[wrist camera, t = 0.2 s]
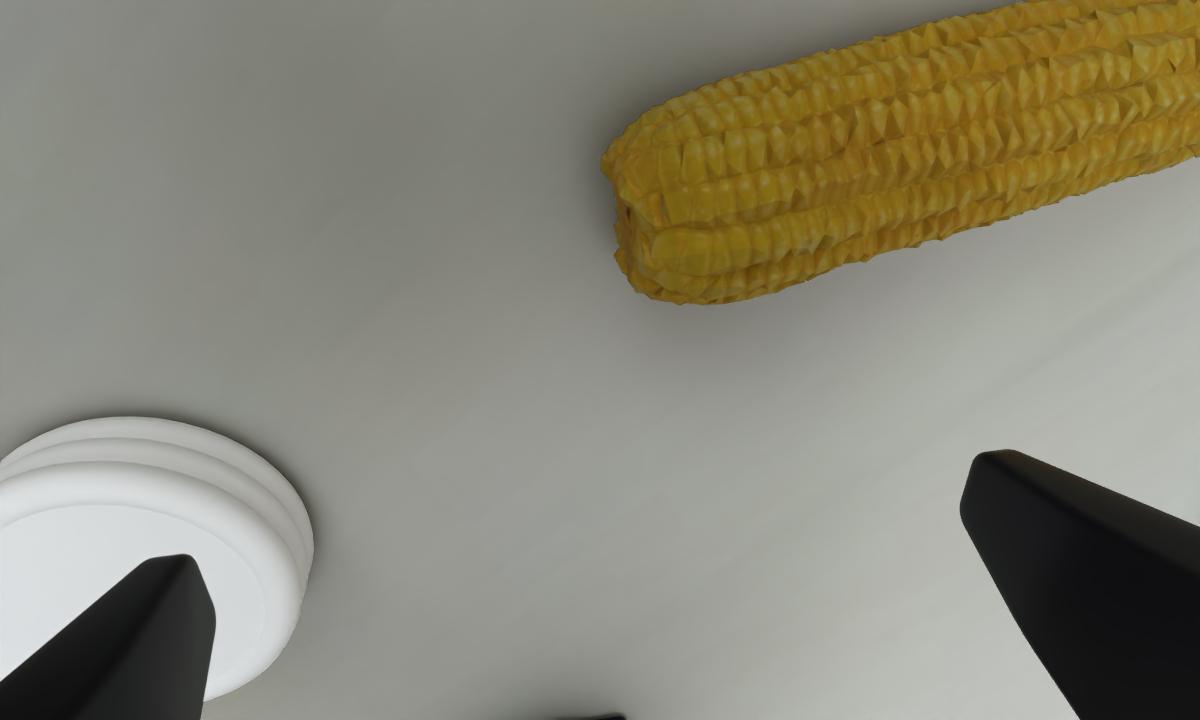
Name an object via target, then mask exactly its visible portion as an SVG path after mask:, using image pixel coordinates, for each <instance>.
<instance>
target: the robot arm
mask: <svg viewBox="0 0 1200 720" xmlns="http://www.w3.org/2000/svg"><path fill="white" fill-rule="evenodd" d="M960 515H961V519H962V522H963V525H964V527H965V529H966V531H967V532H968V534H969V536H970V538H971V540H972V542H973V543H974V545H975V547H976V549H977V551H978V553H979V555H980V556H981V558H982V560H983V562H984V564H985V566H986V568H987V569H988V571H989V573H990V575H991V577H992V579H993V580H994V582H995V584H996V586H997V588H998V590H999V592H1000V593H1001V595H1002V597H1003V599H1004V601H1005V603H1006V604H1007V606H1008V608H1009V610H1010V612H1011V614H1012V616H1013V617H1014V619H1015V621H1016V622H1017V624H1018V626H1019V628H1020V629H1021V631H1022V633H1023V635H1024V636H1025V638H1026V639H1027V641H1028V642H1029V644H1030V646H1031V647H1032V649H1033V650H1034V652H1035V653H1036V655H1037V656H1038V658H1039V659H1040V661H1041V662H1042V664H1043V665H1044V667H1045V668H1046V670H1047V671H1048V673H1049V674H1050V676H1051V677H1052V679H1053V680H1054V682H1055V683H1056V685H1057V686H1058V688H1059V689H1060V691H1061V692H1062V694H1063V695H1064V697H1065V698H1066V700H1067V701H1068V703H1069V704H1070V706H1071V707H1072V708H1073V710H1074V711H1075V713H1076V714H1077V716H1078V717H1079V719H1080V720H1200V527H1199V526H1196V525H1194V524H1191V523H1189V522H1187V521H1184V520H1182V519H1179V518H1177V517H1175V516H1172V515H1170V514H1167V513H1165V512H1163V511H1160V510H1158V509H1155V508H1153V507H1151V506H1148V505H1146V504H1143V503H1141V502H1139V501H1136V500H1134V499H1131V498H1129V497H1127V496H1124V495H1122V494H1119V493H1117V492H1115V491H1112V490H1110V489H1107V488H1105V487H1103V486H1100V485H1098V484H1095V483H1093V482H1091V481H1088V480H1086V479H1083V478H1081V477H1079V476H1076V475H1074V474H1071V473H1069V472H1067V471H1064V470H1062V469H1059V468H1057V467H1055V466H1052V465H1050V464H1047V463H1045V462H1043V461H1040V460H1038V459H1035V458H1033V457H1031V456H1028V455H1026V454H1023V453H1021V452H1018V451H1016V450H1011V449H1004V450H996V451H988V452H983V453H980V454H978V455H977V456H976V457H975V459H974V460H973V462H972V465H971V468H970V471H969V475H968V478H967V481H966V485H965V488H964V491H963V495H962V498H961V502H960ZM215 631H216V613H215V608H214V605H213V602H212V599H211V597H210V594H209V592H208V589H207V587H206V584H205V582H204V579H203V577H202V574H201V572H200V569H199V567H198V564H197V562H196V561H195V559H194V558H193V557H192V556H191V555H188V554H176V555H168V556H160V557H153V558H150V559H147V560H145V561H143V562H142V563H141V564H139V565H138V566H137V567H136V568H135V569H133V570H132V571H131V572H130V573H129V574H127V575H126V576H125V577H124V578H123V579H121V580H120V581H119V582H118V583H117V584H116V585H114V586H113V587H112V588H111V589H110V590H108V591H107V592H106V593H105V594H104V595H102V596H101V597H100V598H99V599H98V600H96V601H95V602H94V603H93V604H92V605H91V606H89V607H88V608H87V609H86V610H85V611H83V612H82V613H81V614H80V615H79V616H77V617H76V618H75V619H74V620H73V621H72V622H70V623H69V624H68V625H67V626H66V627H64V628H63V629H62V630H61V631H60V632H58V633H57V634H56V635H55V636H54V637H53V638H51V639H50V640H49V641H48V642H47V643H45V644H44V645H43V646H42V647H41V648H39V649H38V650H37V651H36V652H35V653H33V654H32V655H31V656H30V657H29V658H28V659H26V660H25V661H24V662H23V663H22V664H20V665H19V666H18V667H17V668H16V669H14V670H13V671H12V672H11V673H10V674H9V675H7V676H6V677H5V678H4V679H3V680H1V681H0V720H200V718H201V712H202V706H203V701H204V695H205V689H206V683H207V677H208V672H209V666H210V660H211V654H212V649H213V643H214V637H215ZM599 720H627V719H626V718H624V717H621V716H617V717H611V718H605V719H599Z"/></svg>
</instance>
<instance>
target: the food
mask: <svg viewBox="0 0 1200 720" xmlns="http://www.w3.org/2000/svg"><path fill="white" fill-rule="evenodd" d="M1193 156H1195V157H1200V0H1030V1H1025V2H1021V3H1014V4H1013V5H1009V6H1004V7H999V8H995V9H992V10H988V11H984V12H981V13H977V14H975V13H970V14H968V15H966V16H964V17H959V16H954V17H952V18H951V19H948V18H947V17H946V18H943V19H941V20H938V21H936V22H934V23H932V22H926V23H923V24H921V25H919V26H916V27H914V28H912V29H908V30H905V31H901V32H897V33H894V34H891V35H888V36H874V38H873V39H872V41H869V40H866V41H858V42H856V43H855V44H853V45H850V46H848V47H845V48H842V49H840V50H835V49H833V48H830V49H829V50H828V51H827V52H826V53H824V52H822V51H821V52H818V53H815V54H813V55H810V56H807V57H803V58H799V59H796V60H793V61H790V62H787V63H785V64H782V65H780V66H777V67H775V66H774V67H770V68H766V69H762V70H758V71H756V70H752V71H748V72H747V73H746V74H745V75H743V74H742V73H739V74H736V75H734V76H732V77H730V78H722V79H720V80H718V81H717V82H715V83H713V84H705V85H704V86H702V87H700V88H699V89H697V90H696V91H688V92H687V93H685V94H684V95H682V96H679V97H675V98H672V99H668V100H667V101H666V102H665V104H664V105H659V106H653V107H651V109H650V111H648V112H645V113H643V114H642V115H641V116H640V117H639V119H638V120H637V121H636V122H634V123H633V124H631V125H629V126H627V128H626V129H625V132H624V134H623V136H621V137H618V138H615V139H614V140H613V142H612V144H611V145H610V147H609V149H608V150H606V154H603V155H602V156H601V167H600V170H601V171H602V173H603V174H604V175H605V176H606V178H607V179H608V180H609V181H610V183H611V184H612V186H613V193H614V196H615V198H616V204H617V206H616V208H615V210H616V211H617V213H618V218H619V220H618V221H617V222H616V223H615V225H614V227H615V232H616V237H617V242H618V244H619V245H620V247H619V248H618V250H617V251H616V253H615V254H614V257H615V259H616V261H617V263H618V265H619V267H620V269H621V271H622V273H624V274H626V275H628V281H629V283H630V284H631V285H632V287H633V288H634V290H635V292H637V293H644V294H646V295H647V296H648V297H649V298H650V299H653V300H660V301H666V302H672V303H675V304H677V305H682V304H685V303H691V304H698V305H711V304H726V303H731V302H737V301H742V300H747V299H751V298H755V297H758V296H762V295H765V294H771V293H777V292H779V291H781V290H783V289H785V288H787V287H789V286H791V285H795V284H799V283H803V282H805V280H807V281H809V280H811V279H813V278H815V277H816V276H818V275H820V274H824V273H826V272H828V271H830V270H832V269H834V268H836V267H839V266H842V264H845V263H854V262H858V261H861V262H867V261H868V260H869V259H871V258H872V257H873V256H875V255H878V254H882V253H885V252H889V251H892V250H898V249H901V248H916V247H919V246H920V244H921V243H922V242H925V241H930V240H935V239H937V240H941V241H942V240H944V239H946V238H947V237H949V236H951V235H952V234H955V233H958V232H961V231H965V230H969V229H972V228H976V227H982V226H989V225H991V224H993V223H994V222H996V221H1000V220H1007V219H1010V218H1011V217H1012V216H1016V215H1018V214H1023V213H1024V212H1025V211H1028V210H1036V209H1038V208H1040V207H1042V206H1046V205H1050V204H1054V203H1059V201H1060V200H1062V199H1064V198H1066V197H1068V196H1079V195H1080V194H1086V193H1088V192H1090V191H1092V190H1094V189H1096V188H1098V187H1101V186H1105V185H1107V184H1109V183H1110V182H1118V181H1121V180H1124V179H1125V178H1127V177H1135V176H1139V175H1143V174H1150V173H1155V172H1157V171H1160V170H1162V169H1165V168H1167V167H1173V166H1175V165H1177V164H1179V163H1181V162H1183V161H1185V160H1187V159H1189V158H1191V157H1193Z"/></svg>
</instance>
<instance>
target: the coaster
mask: <svg viewBox="0 0 1200 720" xmlns="http://www.w3.org/2000/svg"><path fill="white" fill-rule="evenodd" d="M176 554H188V555H191V556H192V557H193V558H194V559H195V561H196V562H197V564H198V567H199V569H200V572H201V574H202V577H203V579H204V582H205V584H206V587H207V589H208V592H209V594H210V597H211V599H212V602H213V605H214V608H215V613H216V631H215V637H214V643H213V649H212V654H211V660H210V666H209V672H208V677H207V683H206V689H205V695H204V701H203V702H205V701H208V700H211V699H214V698H217V697H219V696H222V695H225V694H227V693H229V692H231V691H233V690H235V689H237V688H239V687H241V686H243V685H245V684H246V683H248V682H249V681H251V680H253V679H254V678H256V677H257V676H258V675H260V674H261V673H262V672H263V671H264V670H266V669H267V668H268V667H269V666H270V665H271V664H272V663H273V662H274V661H275V659H276V658H277V657H278V656H279V655H280V653H281V652H282V650H283V649H284V647H285V646H286V644H287V643H288V641H289V640H290V638H291V637H292V635H293V632H294V630H295V628H296V626H297V624H298V621H299V617H300V613H301V609H302V600H303V598H304V595H305V591H306V588H307V583H308V576H309V573H310V570H311V566H312V562H313V554H314V541H313V532H312V527H311V524H310V520H309V516H308V513H307V511H306V509H305V506H304V504H303V502H302V500H301V498H300V497H299V495H298V494H297V492H296V491H295V489H294V488H293V486H292V485H291V484H290V483H289V482H288V481H287V480H286V478H285V477H284V476H283V475H282V474H281V473H280V472H279V471H278V470H277V469H275V468H274V467H273V466H272V465H271V464H270V463H268V462H267V461H266V460H265V459H263V458H262V457H260V456H259V455H257V454H256V453H255V452H253V451H252V450H250V449H249V448H247V447H245V446H243V445H241V444H239V443H237V442H235V441H233V440H231V439H229V438H227V437H225V436H222V435H220V434H217V433H215V432H212V431H209V430H207V429H204V428H200V427H197V426H193V425H190V424H186V423H182V422H177V421H171V420H166V419H160V418H149V417H136V416H128V417H105V418H97V419H89V420H84V421H80V422H76V423H72V424H68V425H64V426H61V427H59V428H56V429H54V430H51V431H48V432H46V433H44V434H42V435H40V436H38V437H36V438H34V439H32V440H30V441H28V442H27V443H25V444H23V445H21V446H19V447H18V448H17V449H15V450H14V451H13V452H11V453H10V454H9V455H7V456H6V457H5V458H4V459H3V460H2V461H1V462H0V681H1V680H3V679H4V678H5V677H6V676H7V675H9V674H10V673H11V672H12V671H13V670H14V669H16V668H17V667H18V666H19V665H20V664H22V663H23V662H24V661H25V660H26V659H28V658H29V657H30V656H31V655H32V654H33V653H35V652H36V651H37V650H38V649H39V648H41V647H42V646H43V645H44V644H45V643H47V642H48V641H49V640H50V639H51V638H53V637H54V636H55V635H56V634H57V633H58V632H60V631H61V630H62V629H63V628H64V627H66V626H67V625H68V624H69V623H70V622H72V621H73V620H74V619H75V618H76V617H77V616H79V615H80V614H81V613H82V612H83V611H85V610H86V609H87V608H88V607H89V606H91V605H92V604H93V603H94V602H95V601H96V600H98V599H99V598H100V597H101V596H102V595H104V594H105V593H106V592H107V591H108V590H110V589H111V588H112V587H113V586H114V585H116V584H117V583H118V582H119V581H120V580H121V579H123V578H124V577H125V576H126V575H127V574H129V573H130V572H131V571H132V570H133V569H135V568H136V567H137V566H138V565H139V564H141V563H142V562H143V561H145V560H147V559H150V558H153V557H160V556H168V555H176Z"/></svg>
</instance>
